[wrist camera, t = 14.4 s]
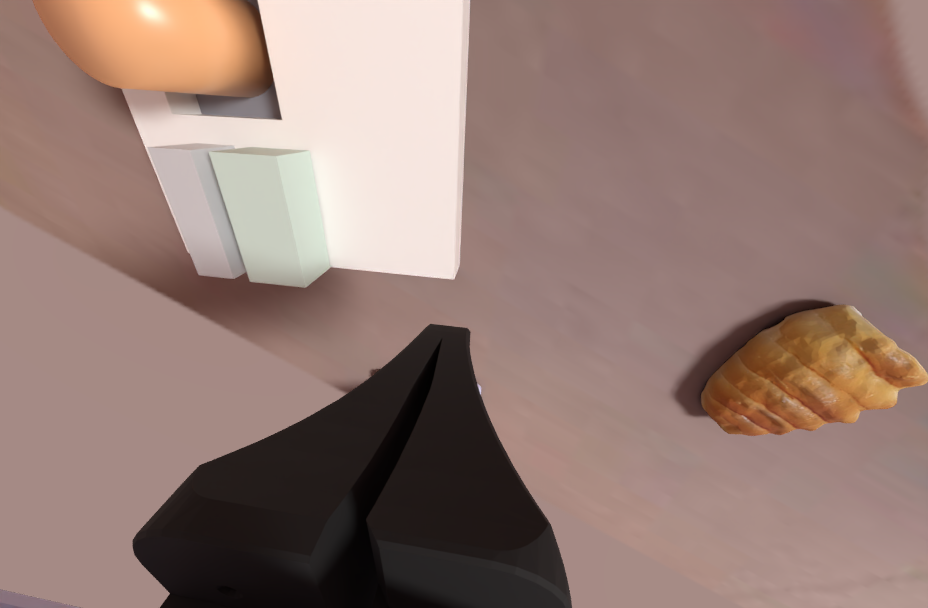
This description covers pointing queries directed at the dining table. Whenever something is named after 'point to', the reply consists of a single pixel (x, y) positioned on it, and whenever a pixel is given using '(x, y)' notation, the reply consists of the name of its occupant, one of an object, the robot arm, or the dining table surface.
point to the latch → (274, 213)
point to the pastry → (809, 374)
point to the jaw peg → (164, 44)
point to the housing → (334, 133)
